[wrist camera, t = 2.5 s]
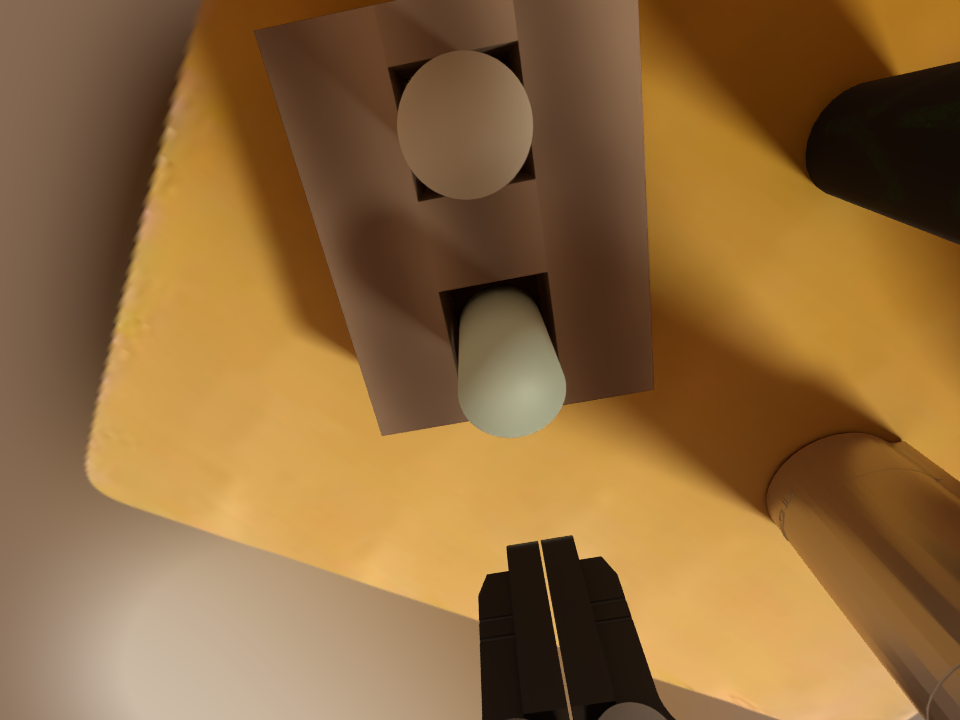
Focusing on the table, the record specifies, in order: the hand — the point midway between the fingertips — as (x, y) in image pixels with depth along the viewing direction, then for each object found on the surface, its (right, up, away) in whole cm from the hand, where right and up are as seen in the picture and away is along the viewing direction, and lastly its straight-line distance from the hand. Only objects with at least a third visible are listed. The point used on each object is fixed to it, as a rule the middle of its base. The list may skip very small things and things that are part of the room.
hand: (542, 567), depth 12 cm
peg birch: (-2, +14, +10) cm, 17 cm away
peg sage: (0, +6, +13) cm, 15 cm away
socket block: (-1, +13, +16) cm, 20 cm away
